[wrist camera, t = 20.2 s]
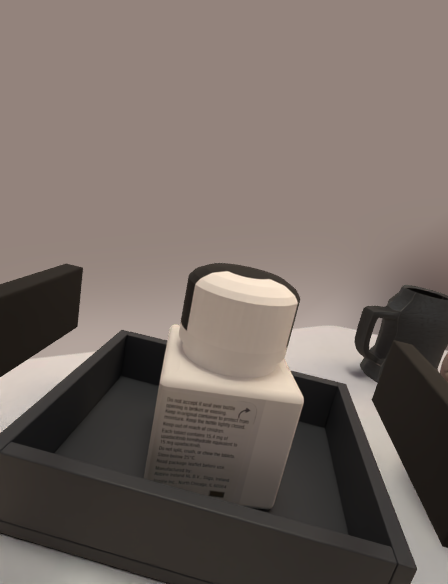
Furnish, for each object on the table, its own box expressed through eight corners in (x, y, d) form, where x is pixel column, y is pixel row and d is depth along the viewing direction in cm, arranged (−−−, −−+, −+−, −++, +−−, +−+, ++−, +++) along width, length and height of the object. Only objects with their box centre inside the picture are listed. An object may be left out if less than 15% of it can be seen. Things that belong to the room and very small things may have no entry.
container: (155, 415, 27) (183, 248, 24) (253, 427, 28) (294, 268, 25) (139, 501, 20) (176, 277, 17) (273, 513, 21) (335, 304, 18)
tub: (-19, 528, 18) (-18, 447, 16) (115, 377, 33) (121, 329, 31) (381, 647, 16) (418, 569, 15) (330, 432, 31) (346, 383, 30)
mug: (401, 360, 51) (428, 285, 48) (455, 398, 43) (492, 310, 40) (327, 356, 47) (352, 274, 44) (370, 396, 39) (404, 298, 36)
